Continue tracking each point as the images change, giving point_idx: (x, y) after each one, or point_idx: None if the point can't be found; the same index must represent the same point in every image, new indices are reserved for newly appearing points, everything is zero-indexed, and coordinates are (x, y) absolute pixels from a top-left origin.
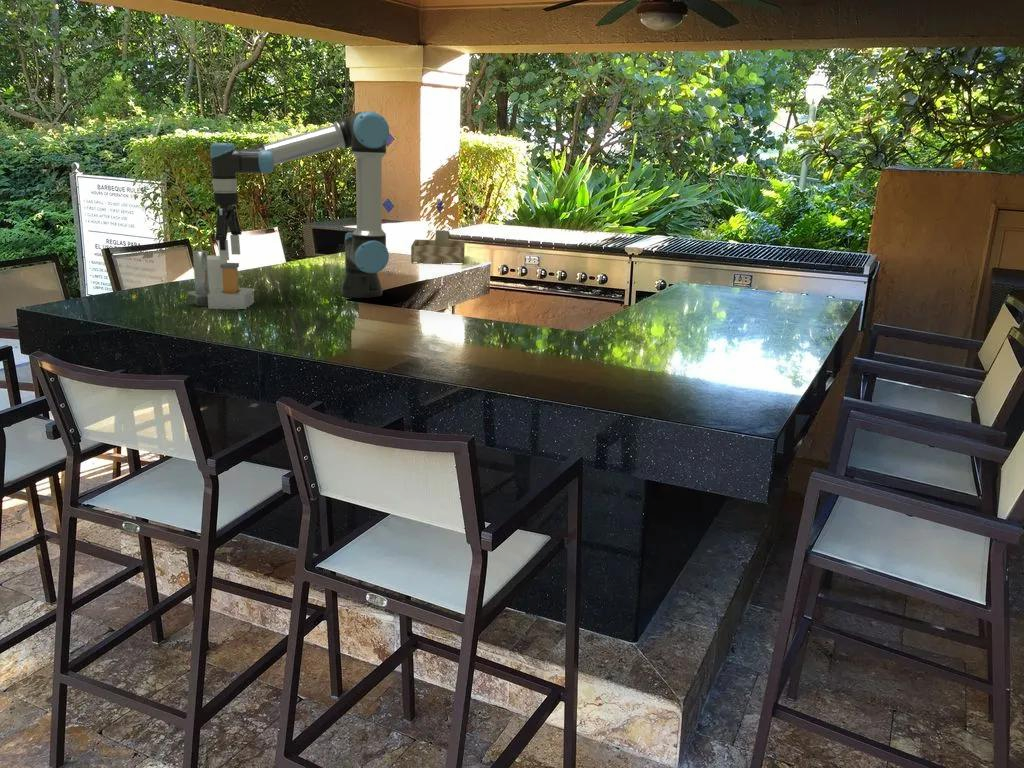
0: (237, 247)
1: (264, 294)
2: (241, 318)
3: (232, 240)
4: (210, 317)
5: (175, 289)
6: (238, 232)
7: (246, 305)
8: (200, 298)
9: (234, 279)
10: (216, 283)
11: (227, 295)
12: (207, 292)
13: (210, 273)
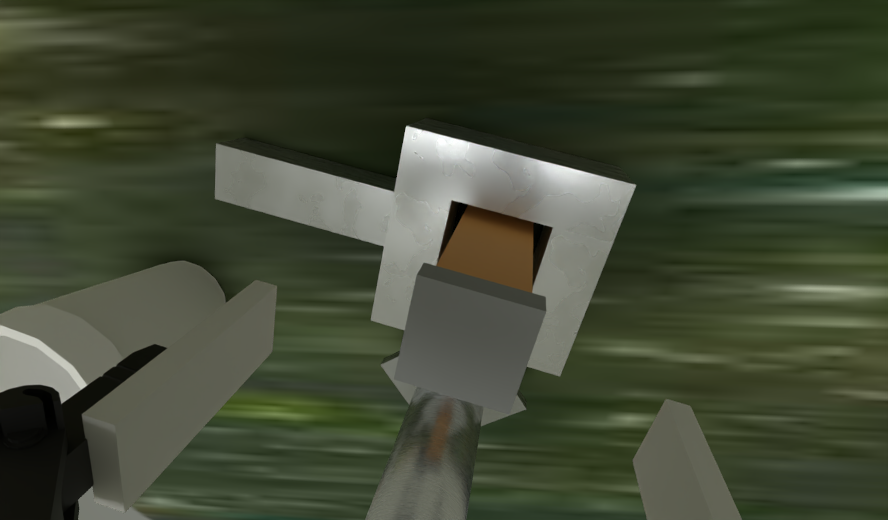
0: (235, 339)
1: (180, 63)
2: (881, 186)
3: (179, 436)
4: (787, 332)
5: None
6: (33, 446)
7: (589, 161)
8: None
9: (531, 268)
10: (192, 315)
11: (596, 279)
12: None
13: None
